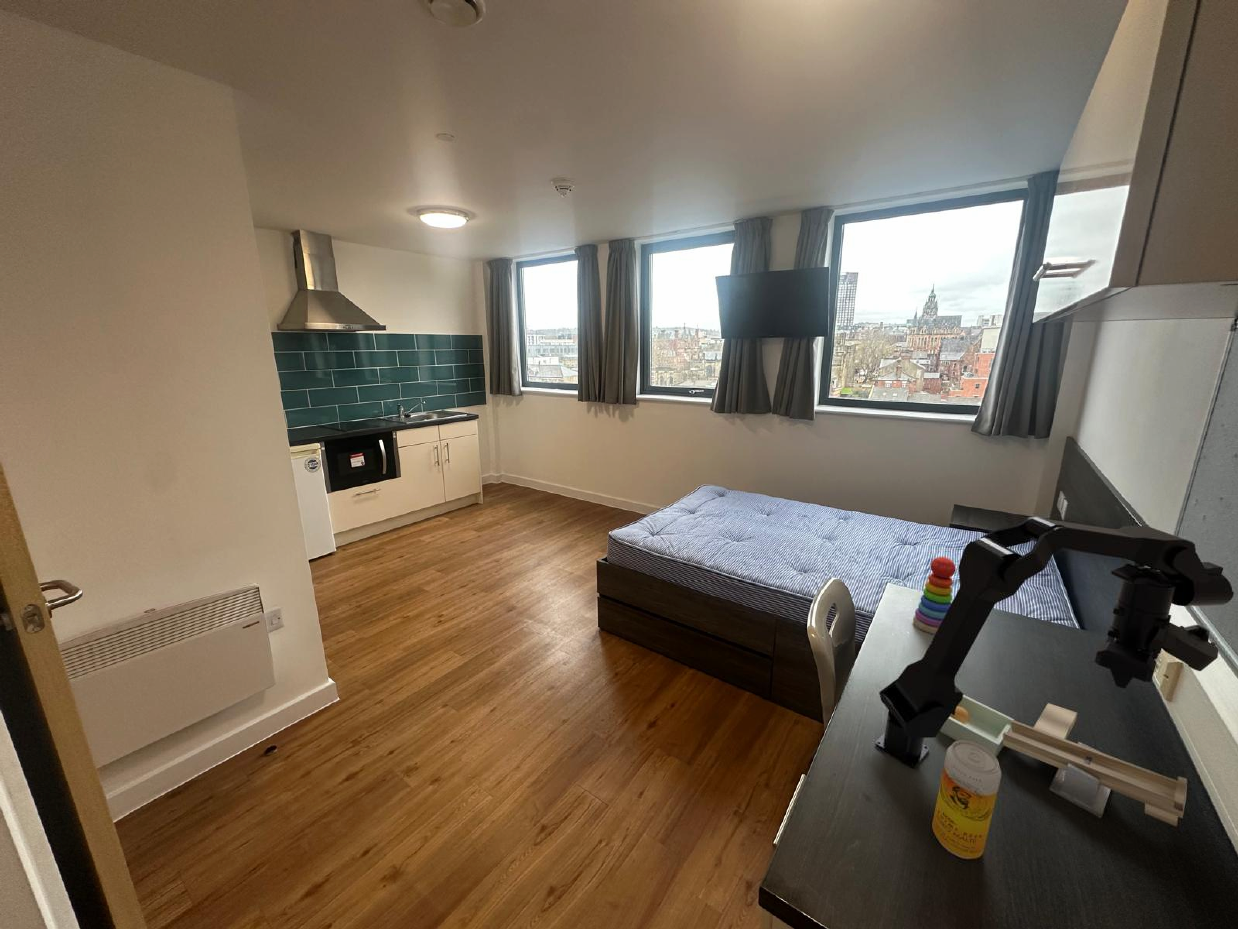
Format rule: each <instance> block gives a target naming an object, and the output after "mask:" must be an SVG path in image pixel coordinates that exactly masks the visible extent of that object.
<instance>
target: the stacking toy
mask: <svg viewBox="0 0 1238 929" xmlns="http://www.w3.org/2000/svg"><path fill="white" fill-rule="evenodd" d="M956 568H957V567H956V564H955V563H954V562H953V560H951V558H948V557H946V556H945V557H944V556H939V557H935V558H933V560H932V561H931V562H930V570H931V573H930V574H929V575H928V576H927V578H928V580H927V581H926V582H925V585H924V586H925V587H924V589H923V591H922V592H923V594H922V595H921V597H920V602H919V603H918V607H917V608H916V609H915V612H914V613H915V615H914V616H913V620H912V621H913V623H914V625H915V626H916V627H917V628H918V629H920V630H923V631H925V632H926V633H930V634H932V635H935V634H936V632H937V630H938V628H939V626H940V624H941V622H942V620H943V619H944V617H945V615H946V613H947V611H948V609H949V607H950V605H951V603H952V601H953V596H952V592H953V588H952V587H951V586H953V584H954V581H953V579H952V578H951V577H952V576H954V574H956Z"/></svg>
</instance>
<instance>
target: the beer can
mask: <svg viewBox="0 0 1238 929" xmlns="http://www.w3.org/2000/svg"><path fill="white" fill-rule="evenodd" d="M943 763H944V764H943V769H942V774H941V778H940V784H939V789H938V794H937V799H936V804H935V809H934V814H933V818H932V819H933V820H932V825H931V827H932V831H933V833H934V835H935V837H936V839H937V840H938V842H939V843H940V844H941V846H942V847H943V848H944V849H946V850H947V851H948V852H949V853H951V854H953V855H955V856H956V857H959V858H961V859H965V860H966V859H967V860H972V859H977V858H980V857H981V856H982V855H983V854H984V850H985V846H986V843H987V842H986V841H987V838H988V835H989V834H988V833H989V828H990V826H991V821H992V816H993V812H994V807H995V804H996V799H997V795H998V793H999V792H998V791H999V788H1000V783H1001V780H1002V771H1001V767H1000V763H999V760H998V758H997V757H995V756H994V755H993V754H992V753H991V752H990V751H988V750H987V749H986V748H984V747H982V746H980V745H978V744H976V743H973V742H970V741H965V740H959V741H957V740H955V741H954V742H952V744H951V745H950V746H949V747H948V748H947V749H946V754H945V759H944V762H943Z"/></svg>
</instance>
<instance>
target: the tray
mask: <svg viewBox="0 0 1238 929" xmlns="http://www.w3.org/2000/svg"><path fill="white" fill-rule="evenodd" d="M958 706H959V707H962V708H964V709H965V710H966V711H967V712H968V714H969V721H968V722H967V723H966V724H963V723H961V722H959V721H957V720H955V719H953V718H951V717H949V718H948V719H947V720H946V722H945V723H944V725H943V726H942V728H941V729H940V731H939V732H940V733H942V734H944V735H946V736H948V737H949V738H951V739H953V740H955V741H959V740H965V741H970V742H973V743H976V744H978V745H980V746H982V747H984V748H986V749H987V750H988V751H990V752H991V753H992V754H993V755H994V756H995V757H996V758H997V757H998V755H999V754H1000V752H1001V751H1002V749H1003V747H1005V746H1004V745H1003V733H1004V732H1006V733H1008V732H1009V730H1010V729H1011V721H1012V720H1014V721H1015V719H1014V718H1012V717H1010V716H1008V715H1006V714H1004V713H1002V712H1000V711H997V710H995V709H994V708H991V707H989V706H987V705H986V704H984V703H981V702H979V701H977V700H975V699H973V698H971V697H968V696H967V695H964V694H963V699H962V700H961V702H960V703H959V704H958Z"/></svg>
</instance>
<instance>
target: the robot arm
mask: <svg viewBox="0 0 1238 929" xmlns="http://www.w3.org/2000/svg"><path fill="white" fill-rule="evenodd" d="M1030 542H1034V546H1033V547H1032V549H1031V550H1030V551H1028V552H1026V553H1024V554H1023V555H1022V554H1020V553H1018V552H1016V551H1014V550H1012V549H1010V548H1009V547H1014V546H1018V545H1024V544H1028V543H1030ZM1060 550H1067V551H1071V552H1079V553H1086V554H1093V555H1099V556H1106V557H1107V556H1108V557H1112V558H1118V559H1119V558H1120V559H1124V560H1129V561H1131V562H1134V563H1137V564H1139V565H1142V566H1141V567H1138V566H1136V565H1133V564H1131V563H1125V565H1122V566H1121V567H1120V566H1119V567H1117V568H1114V569H1113V570H1111V571H1110V574H1111V575H1112V576H1114V577H1116V578H1119V579H1121V580H1122V581H1121V584H1120V585H1121V586H1120V589H1119V592H1118V597H1117V600H1116V604H1114V605H1115V606H1114V608H1113V610H1112V614H1113V615H1112V620H1111V623H1110V627H1109V628H1108V631H1107V634H1106V635H1107V638H1106V639H1105V640H1106V641H1105V642H1104V643H1103V642H1102V643H1101V644H1100V645H1099V648H1098V649H1097V652H1096V656H1095V660H1094V663H1095V664H1097V665H1098V666H1100V667H1104V668H1107V669H1108V670H1109V671H1110V673H1111V676H1112V679H1113V681H1114V685H1115V686H1116V687H1118V688H1120V689H1124V690H1125V689H1127V687H1128V685H1129V684H1130V683H1131V681H1132V680H1133V679H1136V680H1139V681H1142V682H1145V683H1151V682H1152V680H1153V678H1154V677H1153V676H1154V674H1155V670H1156V667H1157V663H1158V662H1157V661H1156V660H1158V658H1159V655H1160V654H1161V653H1162V650H1163V651H1164V652H1166V653H1167V654H1169V655H1170V656H1172V657H1173V658H1176V659H1178V660H1179V661H1180V662H1182V663H1184V664H1187V666H1188V667H1189V668H1191V669H1192V670H1194V671H1196V672H1202V671H1203V670H1204V669H1206V668H1207V667H1208V666H1209V665H1210V664H1212V663H1213V662H1214V661H1216V660H1217V659H1218V656H1219V648H1218V647H1217V646H1216V643H1215V642H1214V641H1211V642H1210V641H1209V639H1210V630H1209V629H1207V628H1206V627H1203V626H1201V625H1200V624H1194V625H1189V626H1188V625H1187V626H1183V625H1179V626H1178V625H1176V624H1174V623H1172V622H1171V618H1172V615H1171V614H1170V610H1171V607H1172V605H1175V606H1179V607H1199V606H1200V607H1203V606H1204V607H1205V606H1207V607H1208V606H1222V605H1223V606H1224V605H1226V604H1228V603H1229V602H1230V601H1231V600H1232V599H1233V597H1234V591H1233V587H1232V584H1231V582H1230V581H1229V580H1228V578H1227V577H1226V576H1225V575H1224V574H1223V571H1224V567H1222V566H1220V565H1218V564H1215V563H1212V562H1210V561H1201V558H1200V557H1199V555H1198V553H1197V550H1196V543H1194V542H1193V541H1191V540H1189V539H1185V538H1182V537H1179V536H1177V535H1173V534H1172V533H1168V532H1166V531H1163V530H1159V529H1156V528H1154V527H1151V526H1148V525H1125V526H1122V527H1120V528H1108V527H1107V528H1106V527H1101V526H1095V525H1090V524H1089V525H1088V524H1082V523H1075V522H1067V521H1061V520H1055V519H1048V518H1046V517H1044V516H1030V517H1027V518H1026V519H1024V520H1022V521H1021V522H1020V523H1017V524H1014V525H1010V526H1006V527H1000V528H997V529H994V530H991V531H989V532H988V533H986V534H984V535H982V536H981V537H979V538H978V539H975V540H971V541H969V542H968V543H967V544H966V546H965V547H964V549H963V551H962V555H961V558H960V561H959V564H958V578H959V579H958V581H959V587H958V590H957V592H956V594H955V596H954V598H952V600H951V605H950V607H949V609H948V611H947V613H946V615H945V617H944V619H943V620H942V622H941V624H940V626H939V628H938V630H937V632H936V634H934V636H933V638H932V639H931V642H930V644H929V645H928V646H927V649H926V651H925V653H924V655H923V657H922V658H921V659H919V660H917V661H915V662H911V663H910V664H907V666H906V667H905V668H904V669H903V670H902V672H901V673H900V675H899V676H898V677H897V679H895V680H894V681H892V682H891V683H890V684H888V685H887V686H885V687H884V688H883V689H881V690H880V691H879V698H880V701H881V702H882V704H884V706H885V707H886V709H887V710H888V712H887V719H886V726H885V730H884V731H885V732H883V734H882V735H881V736H880V737H878V738H877V740H876V741H875V746H876V747H877V748H879V749H881V750H882V751H884V752H886V753H887V754H889V755H890V756H892V757H894V758H895V759H897V760H898V761H900V762H901V763H903V764H905V765H906V766H908V767H910V768H911V769H916V768H917V767H918V765H920V763H921V761H923V759H924V758H925V757H926V756H927V754H928V753H929V752H930V747H929V746H928V745H926V744H924V740H925V738H926V739H927V738H929V739H933V738H935V739H936V737H937V736H938V734H939V732H940V729H941V728H942V726H943V725H944V723H945V722H946V720H947V719H948V718H949V717H950V715H951V714H952V715H955V710H956V707H957V706H958V704H959V703H960V702H961V700H962V699H963V695H964V693H963V692H962V691H961V690H960V689H959V688H958V687H957V685H956V680H955V678H956V676H957V674H958V672H959V670H960V669H961V667H962V665H963V663H964V661H965V660H966V658H967V655H968V654H969V652H970V650H971V648H972V646H973V645H974V644H975V642H976V639H977V638H978V636H979V634H980V632H981V630H982V628H983V627H984V626H985V623H986V621H987V619H988V617H989V616H990V614H991V612H992V610H993V609H994V607H995V606H996V604H998V603H1000V602H1002V601H1004V600H1006V599H1008V598H1011V597H1012V596H1013V597H1014V595H1015V594H1016V593H1017V592H1018V591H1019V589H1020V588H1021V587H1022V585H1023V584H1024V583H1025V582H1026V581H1028V579H1030V578H1032V577H1034V576H1036V575H1037V574H1039V573H1041V572H1043V571H1044V570H1045V569H1046V568H1047V566H1048V564H1049V562H1050V561H1051V559H1052V557H1053V555H1054V554H1055V553H1057V552H1058V551H1060ZM1143 566H1145V567H1143Z"/></svg>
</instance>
